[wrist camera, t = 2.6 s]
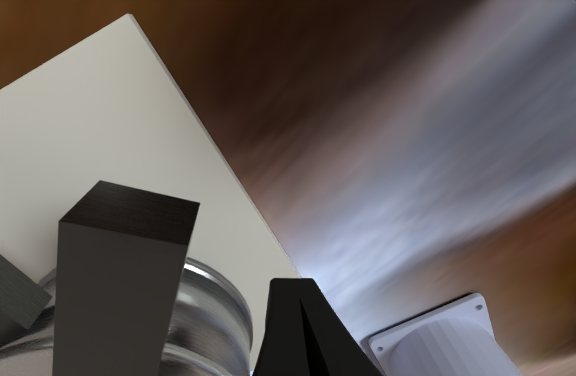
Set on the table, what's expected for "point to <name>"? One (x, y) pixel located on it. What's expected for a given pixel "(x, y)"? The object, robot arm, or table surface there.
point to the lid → (116, 290)
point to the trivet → (124, 161)
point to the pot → (184, 325)
